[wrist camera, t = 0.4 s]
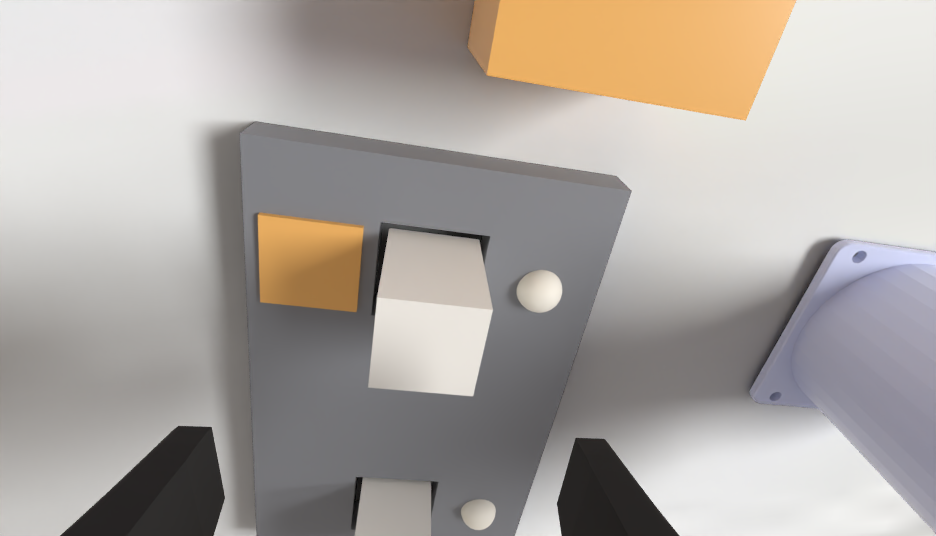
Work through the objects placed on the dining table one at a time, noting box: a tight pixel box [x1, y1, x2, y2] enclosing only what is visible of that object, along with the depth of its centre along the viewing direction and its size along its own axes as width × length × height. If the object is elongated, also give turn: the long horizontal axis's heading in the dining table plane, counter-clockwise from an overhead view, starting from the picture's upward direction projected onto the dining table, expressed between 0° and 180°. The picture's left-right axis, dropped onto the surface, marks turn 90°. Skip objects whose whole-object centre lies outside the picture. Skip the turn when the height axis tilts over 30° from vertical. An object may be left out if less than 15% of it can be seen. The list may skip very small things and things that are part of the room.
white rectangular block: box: [368, 228, 493, 396], centre depth 15 cm, size 3×3×4 cm
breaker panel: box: [240, 122, 631, 536], centre depth 20 cm, size 12×20×2 cm, turn 170°
